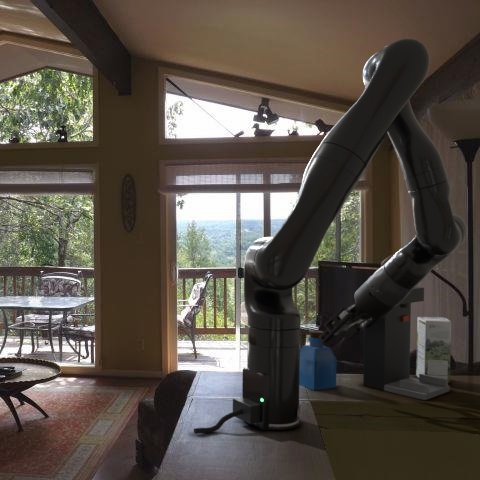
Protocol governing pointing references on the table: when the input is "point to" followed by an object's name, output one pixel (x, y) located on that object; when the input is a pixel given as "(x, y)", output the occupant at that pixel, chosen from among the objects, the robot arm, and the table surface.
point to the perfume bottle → (317, 364)
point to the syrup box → (433, 347)
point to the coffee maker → (397, 355)
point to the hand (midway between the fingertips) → (333, 339)
